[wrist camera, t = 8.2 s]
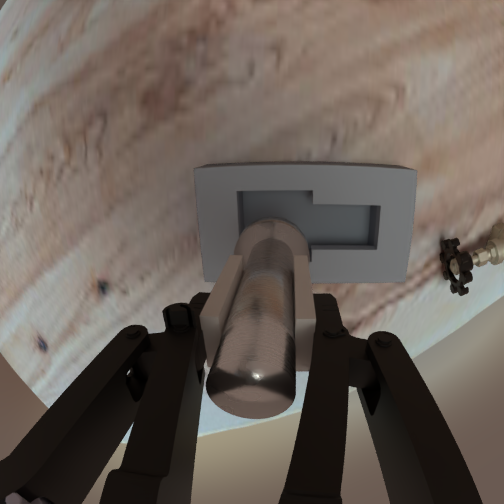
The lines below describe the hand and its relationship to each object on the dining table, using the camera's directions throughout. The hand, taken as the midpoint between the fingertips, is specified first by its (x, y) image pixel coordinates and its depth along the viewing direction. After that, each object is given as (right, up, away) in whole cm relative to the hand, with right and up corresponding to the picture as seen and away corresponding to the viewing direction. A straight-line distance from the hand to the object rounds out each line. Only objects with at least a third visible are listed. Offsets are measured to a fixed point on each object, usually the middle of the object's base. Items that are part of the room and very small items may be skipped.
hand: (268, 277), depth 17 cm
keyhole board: (+5, +5, +13) cm, 14 cm away
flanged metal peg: (+1, +1, +4) cm, 5 cm away
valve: (+27, +3, +11) cm, 29 cm away
